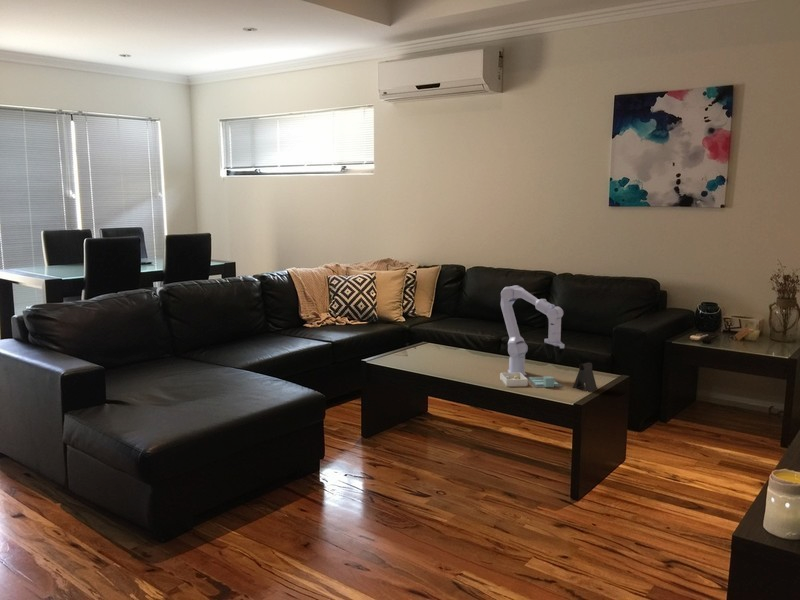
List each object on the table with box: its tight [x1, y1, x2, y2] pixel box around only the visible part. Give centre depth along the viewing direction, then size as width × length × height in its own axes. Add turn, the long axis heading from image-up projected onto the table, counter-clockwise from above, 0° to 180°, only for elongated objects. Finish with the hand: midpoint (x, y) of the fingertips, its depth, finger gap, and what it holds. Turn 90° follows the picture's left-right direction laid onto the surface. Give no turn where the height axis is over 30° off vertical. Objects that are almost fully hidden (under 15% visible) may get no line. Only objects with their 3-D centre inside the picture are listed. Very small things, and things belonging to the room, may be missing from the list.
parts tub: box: [499, 372, 529, 387], centre depth 320 cm, size 13×10×3 cm
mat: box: [525, 376, 564, 389], centre depth 321 cm, size 18×13×1 cm
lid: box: [528, 375, 559, 388], centre depth 319 cm, size 17×11×4 cm, turn 4°
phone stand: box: [572, 361, 598, 393], centre depth 309 cm, size 9×6×12 cm, turn 40°
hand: (553, 360), depth 323 cm, fingers open, 7 cm apart
